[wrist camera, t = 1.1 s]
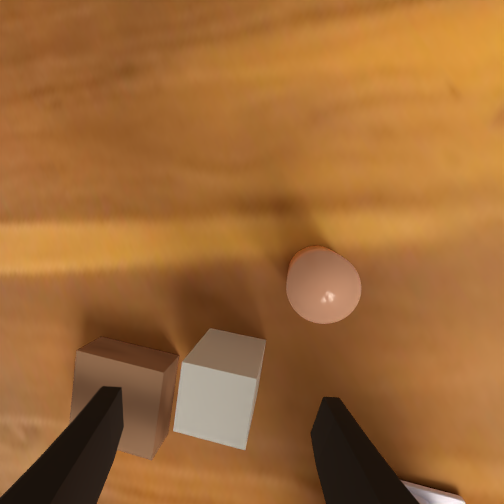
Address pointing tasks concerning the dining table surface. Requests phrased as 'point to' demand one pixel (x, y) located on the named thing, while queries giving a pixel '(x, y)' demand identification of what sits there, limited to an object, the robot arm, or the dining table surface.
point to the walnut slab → (129, 389)
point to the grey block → (220, 388)
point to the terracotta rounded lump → (322, 285)
